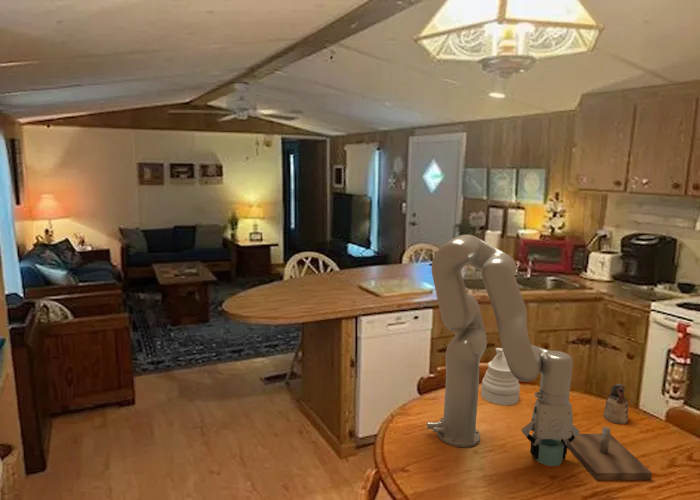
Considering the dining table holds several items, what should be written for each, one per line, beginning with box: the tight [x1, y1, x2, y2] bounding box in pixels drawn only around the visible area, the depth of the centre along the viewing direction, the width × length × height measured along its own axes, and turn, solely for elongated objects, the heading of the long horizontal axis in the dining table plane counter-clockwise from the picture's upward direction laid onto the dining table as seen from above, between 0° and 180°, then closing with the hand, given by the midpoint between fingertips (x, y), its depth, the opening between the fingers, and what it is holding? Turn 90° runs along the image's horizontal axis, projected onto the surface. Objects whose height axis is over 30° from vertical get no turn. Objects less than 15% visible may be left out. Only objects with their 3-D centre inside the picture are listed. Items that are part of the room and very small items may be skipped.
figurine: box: [603, 383, 629, 425], centre depth 168 cm, size 7×7×12 cm
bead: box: [535, 439, 564, 467], centre depth 144 cm, size 7×7×5 cm
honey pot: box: [480, 347, 521, 406], centre depth 182 cm, size 13×13×18 cm
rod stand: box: [567, 426, 653, 481], centre depth 145 cm, size 15×20×9 cm
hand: (548, 456), depth 144 cm, fingers closed on bead, 7 cm apart
